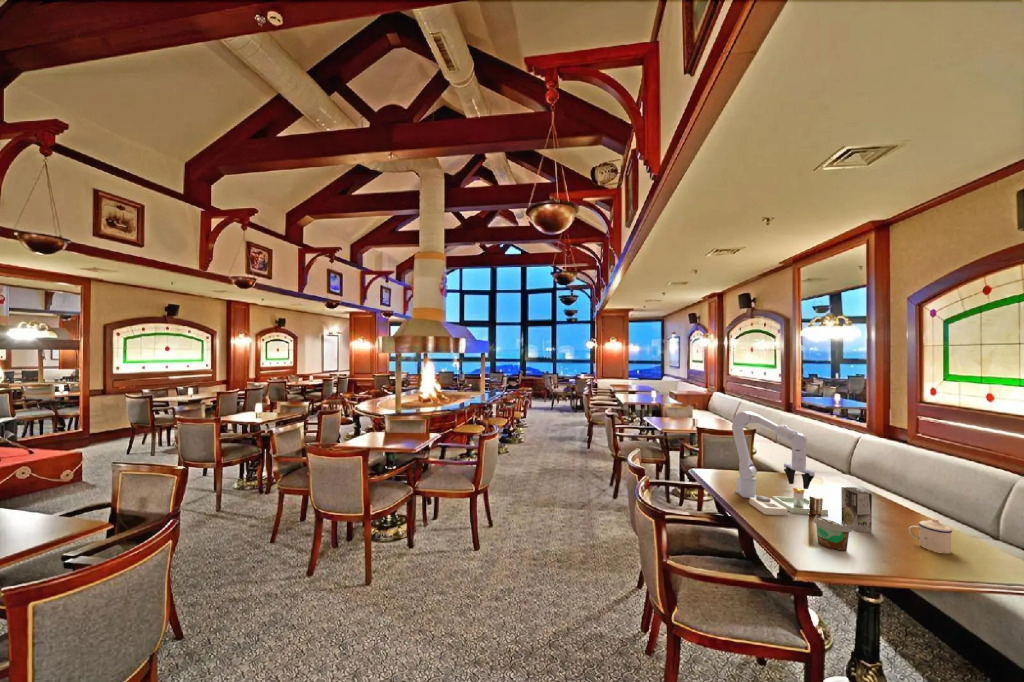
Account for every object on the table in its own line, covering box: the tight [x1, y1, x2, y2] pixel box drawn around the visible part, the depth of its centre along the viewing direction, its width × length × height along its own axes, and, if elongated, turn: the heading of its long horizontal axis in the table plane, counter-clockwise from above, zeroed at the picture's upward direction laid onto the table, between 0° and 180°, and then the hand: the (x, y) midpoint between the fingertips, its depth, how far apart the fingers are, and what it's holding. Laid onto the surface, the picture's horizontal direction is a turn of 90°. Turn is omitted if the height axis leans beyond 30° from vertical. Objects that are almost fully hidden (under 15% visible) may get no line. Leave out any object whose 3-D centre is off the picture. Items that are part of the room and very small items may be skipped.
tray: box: [772, 495, 829, 516], centre depth 201 cm, size 16×16×2 cm
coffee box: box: [840, 486, 873, 533], centre depth 180 cm, size 9×6×16 cm
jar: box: [792, 487, 805, 508], centre depth 201 cm, size 5×5×8 cm
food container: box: [813, 515, 852, 553], centre depth 160 cm, size 12×6×10 cm, turn 22°
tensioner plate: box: [749, 495, 788, 516], centre depth 198 cm, size 14×10×4 cm
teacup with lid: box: [908, 517, 953, 554], centre depth 162 cm, size 12×9×12 cm
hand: (798, 486), depth 202 cm, fingers open, 7 cm apart
